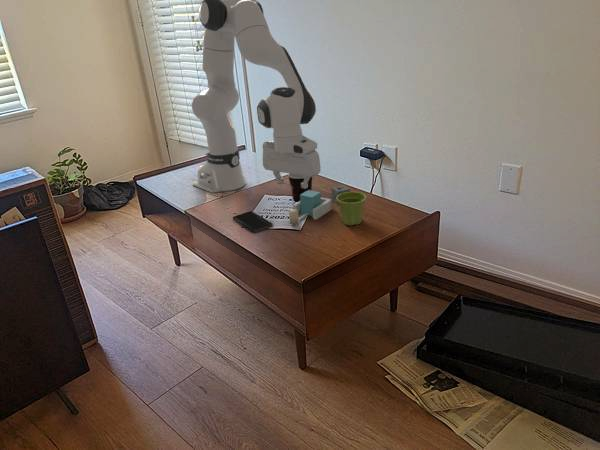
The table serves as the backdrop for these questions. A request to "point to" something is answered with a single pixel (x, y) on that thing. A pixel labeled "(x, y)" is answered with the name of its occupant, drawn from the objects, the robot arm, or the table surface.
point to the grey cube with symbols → (338, 192)
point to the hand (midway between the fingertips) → (292, 185)
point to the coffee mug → (298, 186)
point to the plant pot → (351, 207)
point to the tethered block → (305, 206)
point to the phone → (252, 222)
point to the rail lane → (319, 210)
